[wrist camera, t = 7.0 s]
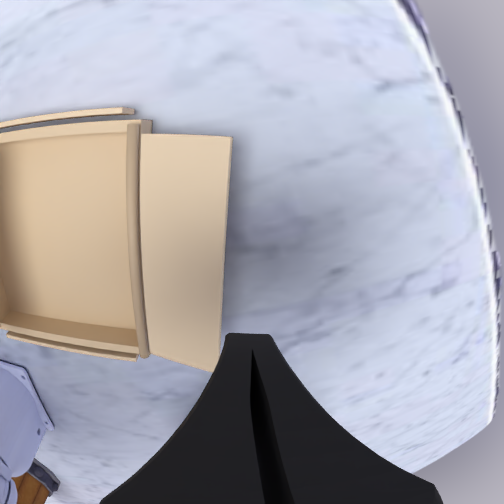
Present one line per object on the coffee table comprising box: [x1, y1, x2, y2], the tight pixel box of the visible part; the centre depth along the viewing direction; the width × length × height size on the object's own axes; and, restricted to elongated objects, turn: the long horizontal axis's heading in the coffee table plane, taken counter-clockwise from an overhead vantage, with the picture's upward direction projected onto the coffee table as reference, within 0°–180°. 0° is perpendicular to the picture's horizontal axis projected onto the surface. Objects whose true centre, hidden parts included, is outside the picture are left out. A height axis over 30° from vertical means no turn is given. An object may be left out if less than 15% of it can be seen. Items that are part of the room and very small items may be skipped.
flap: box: [140, 134, 233, 373], centre depth 15 cm, size 13×1×4 cm
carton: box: [0, 107, 152, 362], centre depth 16 cm, size 15×13×3 cm
